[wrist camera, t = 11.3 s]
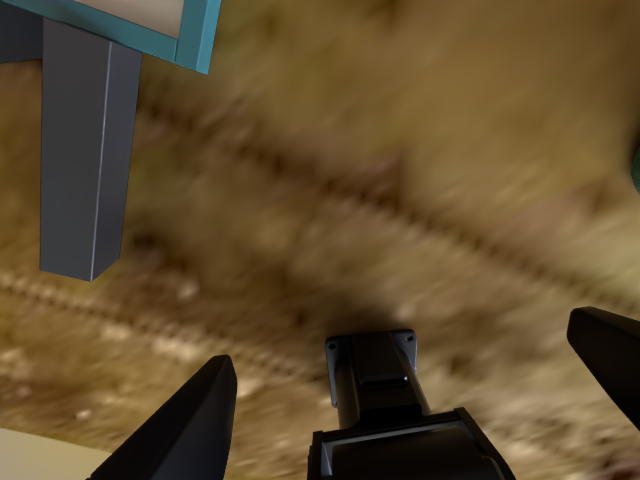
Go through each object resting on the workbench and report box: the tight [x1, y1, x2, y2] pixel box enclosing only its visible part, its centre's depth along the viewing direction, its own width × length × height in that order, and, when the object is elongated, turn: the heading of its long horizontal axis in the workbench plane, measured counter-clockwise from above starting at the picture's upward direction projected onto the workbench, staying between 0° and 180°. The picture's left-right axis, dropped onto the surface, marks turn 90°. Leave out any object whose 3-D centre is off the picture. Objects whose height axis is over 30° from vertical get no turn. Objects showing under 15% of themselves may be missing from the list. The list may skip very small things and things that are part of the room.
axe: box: [0, 0, 221, 282], centre depth 15 cm, size 22×9×3 cm, turn 162°
